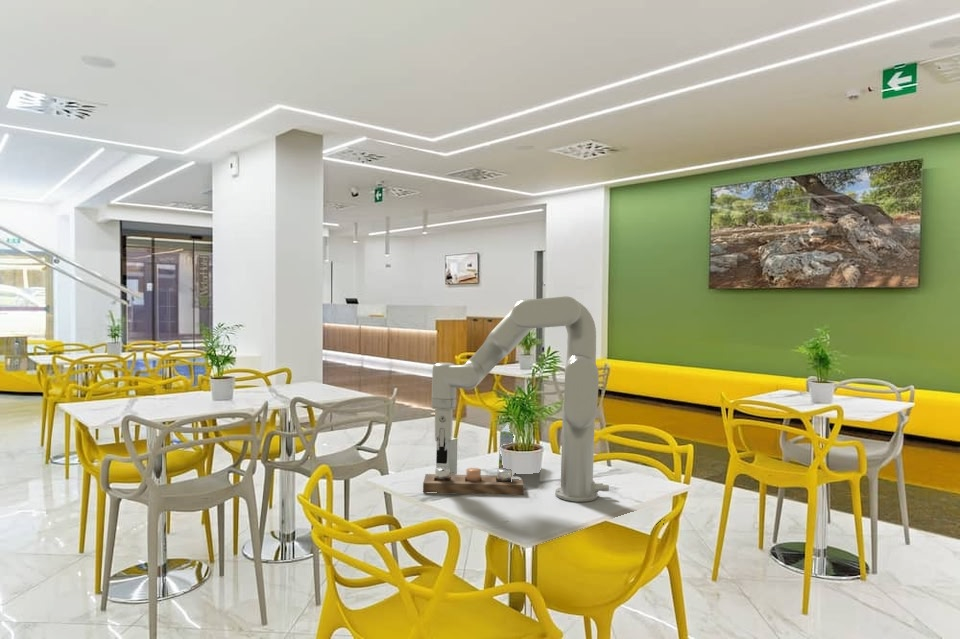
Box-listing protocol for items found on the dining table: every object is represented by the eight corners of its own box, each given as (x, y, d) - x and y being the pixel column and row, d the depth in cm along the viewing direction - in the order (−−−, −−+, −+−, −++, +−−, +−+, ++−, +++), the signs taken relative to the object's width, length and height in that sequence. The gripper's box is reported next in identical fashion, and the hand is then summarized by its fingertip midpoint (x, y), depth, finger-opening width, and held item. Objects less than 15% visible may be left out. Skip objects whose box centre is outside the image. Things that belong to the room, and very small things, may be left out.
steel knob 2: (511, 479, 201) (511, 468, 201) (511, 483, 196) (512, 472, 196) (496, 479, 201) (497, 468, 201) (497, 483, 196) (497, 472, 196)
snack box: (514, 477, 213) (515, 432, 212) (497, 476, 214) (498, 431, 213) (523, 462, 234) (524, 420, 233) (507, 461, 235) (508, 419, 234)
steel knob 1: (449, 478, 201) (450, 467, 201) (449, 482, 196) (449, 471, 196) (435, 477, 201) (435, 467, 201) (434, 481, 196) (435, 470, 196)
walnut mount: (520, 485, 204) (521, 475, 204) (523, 494, 194) (523, 484, 194) (425, 483, 204) (425, 474, 203) (423, 492, 194) (423, 483, 193)
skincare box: (457, 474, 215) (458, 438, 215) (448, 476, 212) (449, 440, 212) (444, 470, 219) (444, 435, 219) (435, 473, 216) (436, 437, 216)
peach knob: (480, 478, 201) (480, 467, 201) (480, 482, 196) (480, 471, 196) (466, 478, 201) (466, 467, 201) (466, 482, 196) (466, 471, 196)
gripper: (455, 407, 190) (453, 469, 191) (456, 399, 205) (454, 457, 206) (429, 407, 190) (427, 468, 191) (433, 399, 205) (431, 456, 206)
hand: (441, 462), depth 198 cm, fingers closed
